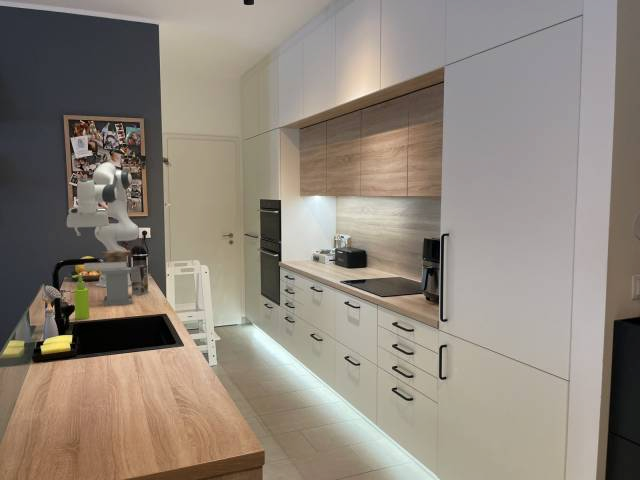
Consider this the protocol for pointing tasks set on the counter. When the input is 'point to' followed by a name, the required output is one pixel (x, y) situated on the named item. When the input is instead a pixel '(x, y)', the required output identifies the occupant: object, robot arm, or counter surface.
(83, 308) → the soap dispenser
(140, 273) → the coffee box
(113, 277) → the grey stand
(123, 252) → the walnut stand
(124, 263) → the alu channel
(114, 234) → the robot arm
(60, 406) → the counter surface
